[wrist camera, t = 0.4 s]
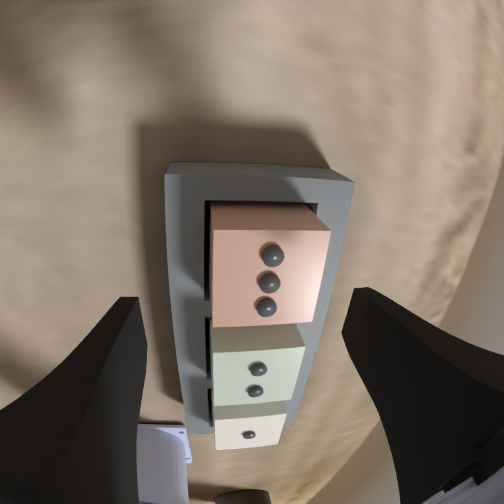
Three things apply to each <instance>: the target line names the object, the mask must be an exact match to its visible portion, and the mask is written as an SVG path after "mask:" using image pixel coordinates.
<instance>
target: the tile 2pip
mask: <svg viewBox="0 0 504 504" xmlns="http://www.w3.org/2000/svg"><path fill="white" fill-rule="evenodd" d="M305 348H306V346H305V344H304V341H303V339H302V337H301V334H300V332H299V330H298V327H297V325H296V323H291V324H276V325H259V326H238V327H213V326H212V317H209V351H210V369H211V380H212V390H213V400H214V406H227V405H242V404H254V403H264V402H274V401H282V400H290V399H292V395H293V392H294V388H295V385H296V381H297V377H298V374H299V370H300V366H301V363H302V359H303V355H304V351H305Z"/></svg>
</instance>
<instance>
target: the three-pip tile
mask: <svg viewBox="0 0 504 504" xmlns="http://www.w3.org/2000/svg"><path fill="white" fill-rule="evenodd" d="M330 235H331V230H330V229H329V228H328V227H327V226H326V225H325V224H324V223H323V222H322V221H321V220H320V219H319V218H318V217H317V216H316V215H315V214H314V213H313V212H312V211H311V210H310V209H309V208H308V207H307V206H306V205H305V204H304V203H303V202H279V201H237V200H210V216H209V291H210V303H211V315H212V326H213V327H238V326H259V325H276V324H291V323H304V322H312V319H313V315H314V311H315V307H316V302H317V298H318V293H319V289H320V284H321V280H322V275H323V270H324V265H325V260H326V255H327V250H328V245H329V240H330Z"/></svg>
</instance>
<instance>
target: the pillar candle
mask: <svg viewBox="0 0 504 504" xmlns="http://www.w3.org/2000/svg"><path fill="white" fill-rule="evenodd" d="M215 504H271V501H270V496H269V493H268V492H266V491H258V490H244V491H238V492H232V493H227V494H223V495H220V496H218V497H216V499H215Z"/></svg>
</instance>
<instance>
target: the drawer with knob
mask: <svg viewBox="0 0 504 504" xmlns="http://www.w3.org/2000/svg"><path fill="white" fill-rule="evenodd" d="M211 409H212V420H213V429H214V438H215V447H216V450H224V449H238V448H249V447H259V446H267V445H275V444H278V441H279V438H280V434H281V431H282V428H283V425H284V422H285V419H286V415H287V412H286V408H285V405H284V401H283V400H282V401H274V402H264V403H254V404H242V405H227V406H214V400H213V390H212V388H211Z"/></svg>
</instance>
